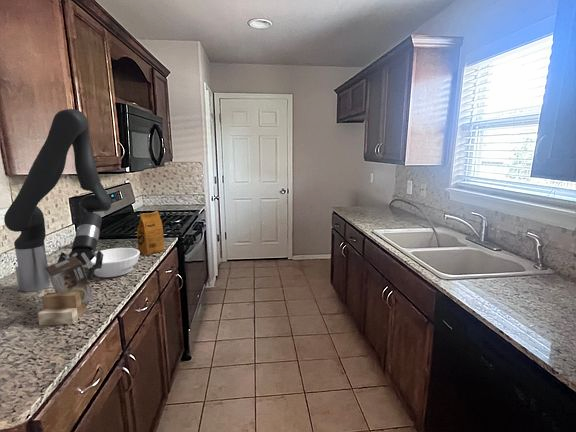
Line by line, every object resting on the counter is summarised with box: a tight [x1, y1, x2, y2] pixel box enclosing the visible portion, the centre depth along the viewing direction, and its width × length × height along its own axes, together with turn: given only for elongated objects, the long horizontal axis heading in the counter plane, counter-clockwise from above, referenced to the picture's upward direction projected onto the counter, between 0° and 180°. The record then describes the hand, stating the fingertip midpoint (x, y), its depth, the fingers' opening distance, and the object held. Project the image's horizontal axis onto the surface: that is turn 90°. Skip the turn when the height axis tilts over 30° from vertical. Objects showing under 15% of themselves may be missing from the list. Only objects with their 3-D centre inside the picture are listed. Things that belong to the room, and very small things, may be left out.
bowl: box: [85, 247, 141, 278], centre depth 147 cm, size 22×22×8 cm
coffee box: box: [46, 256, 94, 303], centre depth 112 cm, size 9×6×16 cm
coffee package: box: [136, 210, 165, 256], centre depth 176 cm, size 10×12×22 cm
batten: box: [37, 308, 79, 326], centre depth 104 cm, size 10×3×4 cm, turn 96°
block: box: [41, 291, 87, 319], centre depth 108 cm, size 10×6×8 cm, turn 96°
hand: (75, 280), depth 113 cm, fingers open, 8 cm apart
